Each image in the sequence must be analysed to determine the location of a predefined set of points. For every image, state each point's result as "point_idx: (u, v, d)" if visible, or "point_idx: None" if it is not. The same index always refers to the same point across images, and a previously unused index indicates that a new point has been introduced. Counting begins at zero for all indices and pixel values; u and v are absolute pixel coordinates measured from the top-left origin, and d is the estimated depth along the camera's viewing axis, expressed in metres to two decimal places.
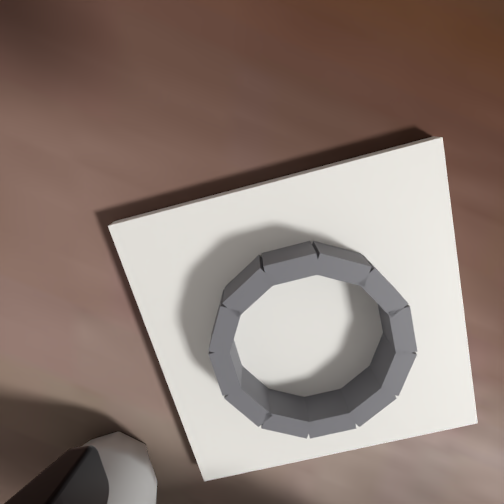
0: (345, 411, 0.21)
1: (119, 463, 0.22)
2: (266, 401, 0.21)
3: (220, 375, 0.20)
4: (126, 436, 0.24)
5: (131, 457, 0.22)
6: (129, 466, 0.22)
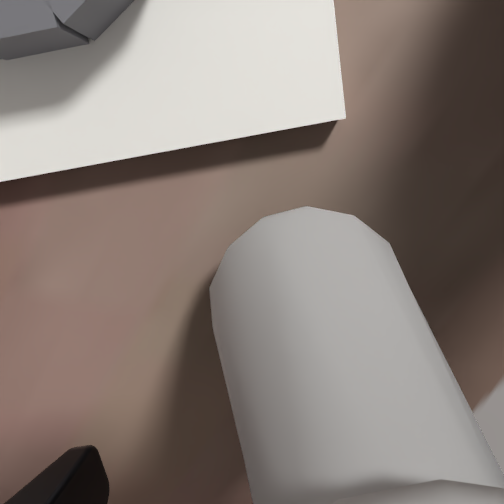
0: None
1: (224, 264, 0.11)
2: None
3: (6, 25, 0.10)
4: None
5: (233, 242, 0.12)
6: (235, 247, 0.11)
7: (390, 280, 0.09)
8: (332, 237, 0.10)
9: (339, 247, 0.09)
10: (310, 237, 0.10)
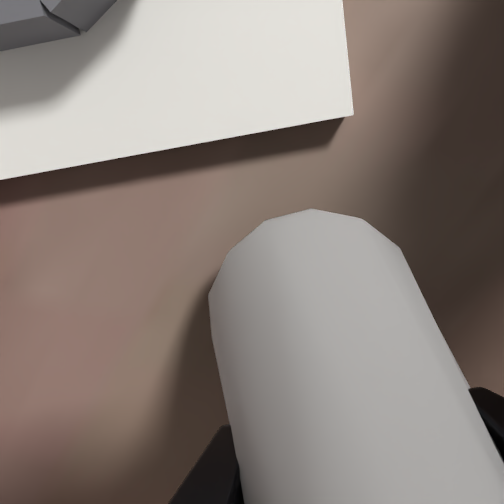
0: None
1: (224, 270, 0.11)
2: None
3: None
4: None
5: (233, 247, 0.11)
6: (235, 253, 0.11)
7: (404, 291, 0.08)
8: (340, 243, 0.09)
9: (348, 254, 0.09)
10: (317, 244, 0.09)
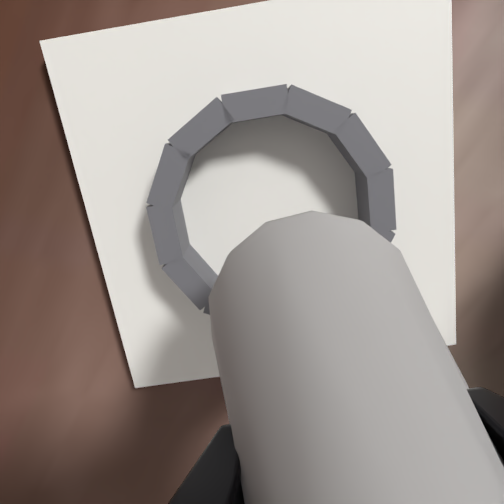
0: (366, 181, 0.16)
1: (224, 272, 0.11)
2: None
3: None
4: None
5: (234, 249, 0.11)
6: (236, 255, 0.11)
7: (404, 293, 0.08)
8: (340, 246, 0.09)
9: (348, 256, 0.09)
10: (317, 246, 0.09)
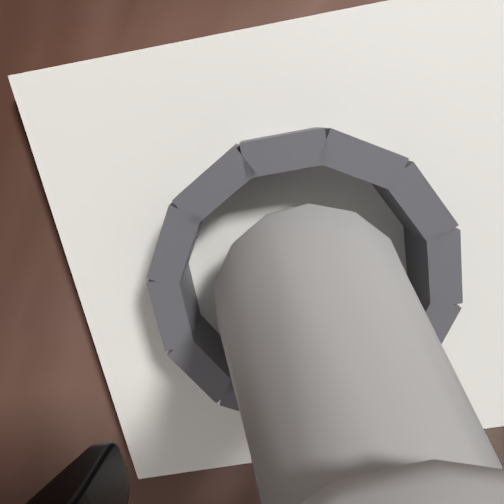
0: (424, 244, 0.13)
1: (228, 260, 0.12)
2: None
3: None
4: None
5: None
6: (239, 244, 0.12)
7: (390, 275, 0.09)
8: (333, 234, 0.10)
9: (340, 243, 0.10)
10: (312, 234, 0.10)
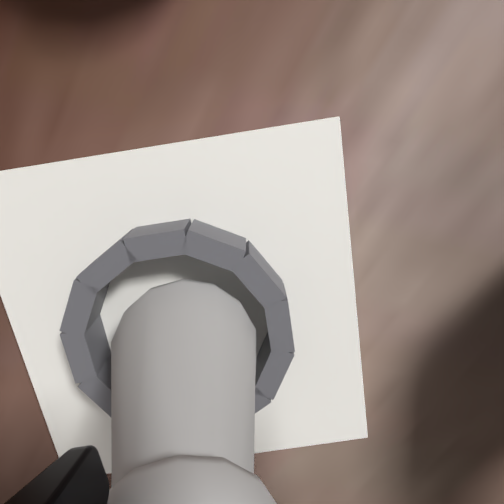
0: (264, 309, 0.17)
1: (120, 325, 0.16)
2: None
3: None
4: None
5: (128, 308, 0.16)
6: (128, 313, 0.16)
7: (222, 338, 0.13)
8: (190, 308, 0.14)
9: (193, 316, 0.14)
10: (175, 309, 0.14)
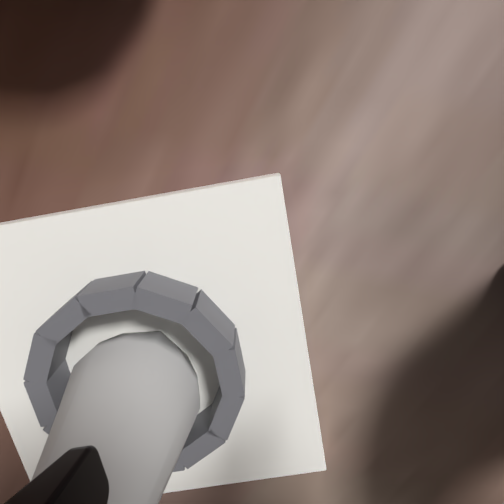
0: (214, 357, 0.18)
1: None
2: (206, 423, 0.20)
3: None
4: None
5: (78, 361, 0.18)
6: (75, 368, 0.17)
7: (139, 409, 0.15)
8: (118, 374, 0.16)
9: (117, 384, 0.15)
10: (104, 375, 0.15)
